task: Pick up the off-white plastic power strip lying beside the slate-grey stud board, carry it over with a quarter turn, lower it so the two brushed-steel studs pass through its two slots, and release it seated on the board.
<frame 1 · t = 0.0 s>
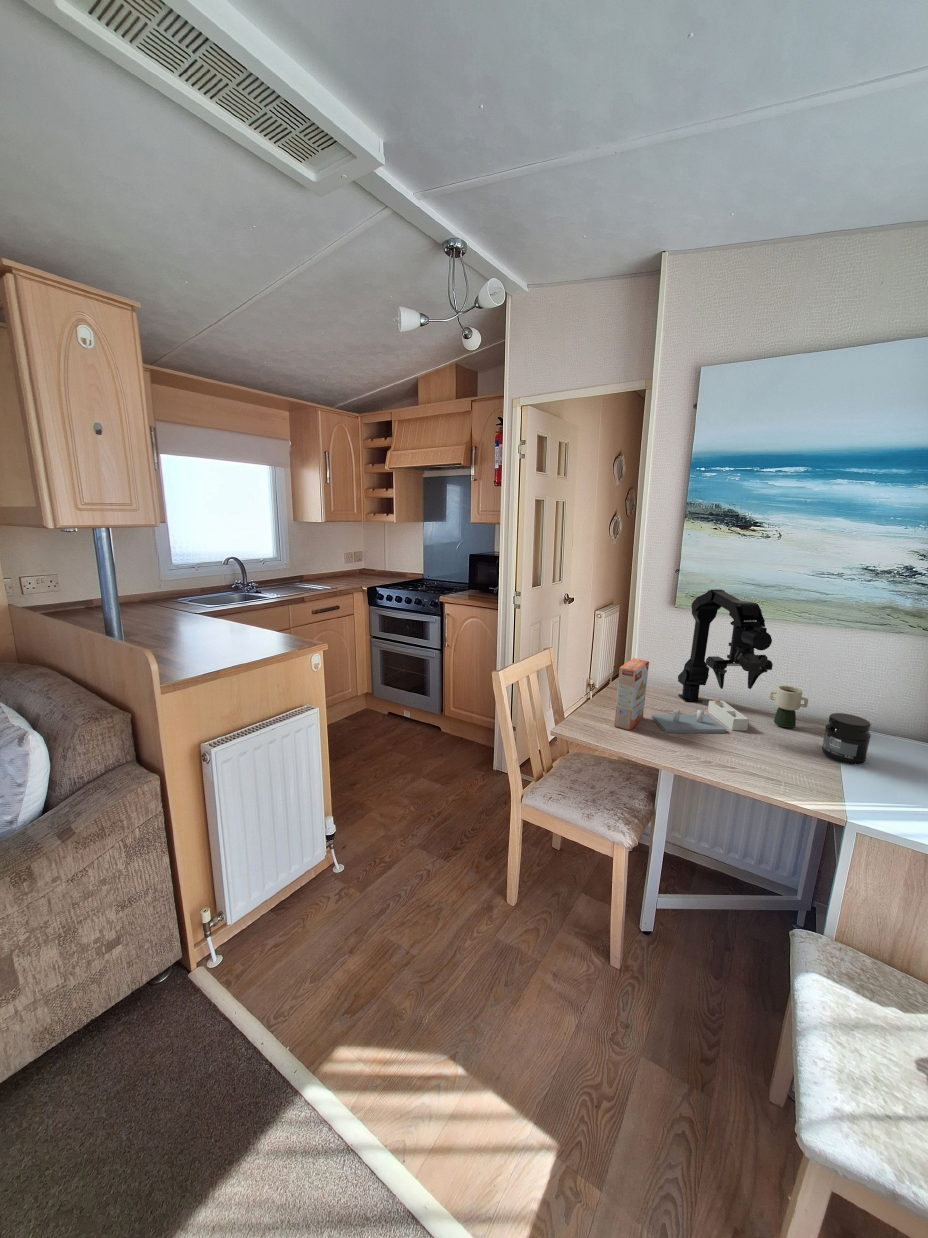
hand: (735, 688, 158), 15 cm above the table, fingers open, 9 cm apart
stud board: (687, 724, 165), on the table
character mug: (784, 726, 166), on the table
supplement container: (842, 757, 144), on the table
cracker box: (629, 722, 167), on the table
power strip: (726, 720, 170), on the table
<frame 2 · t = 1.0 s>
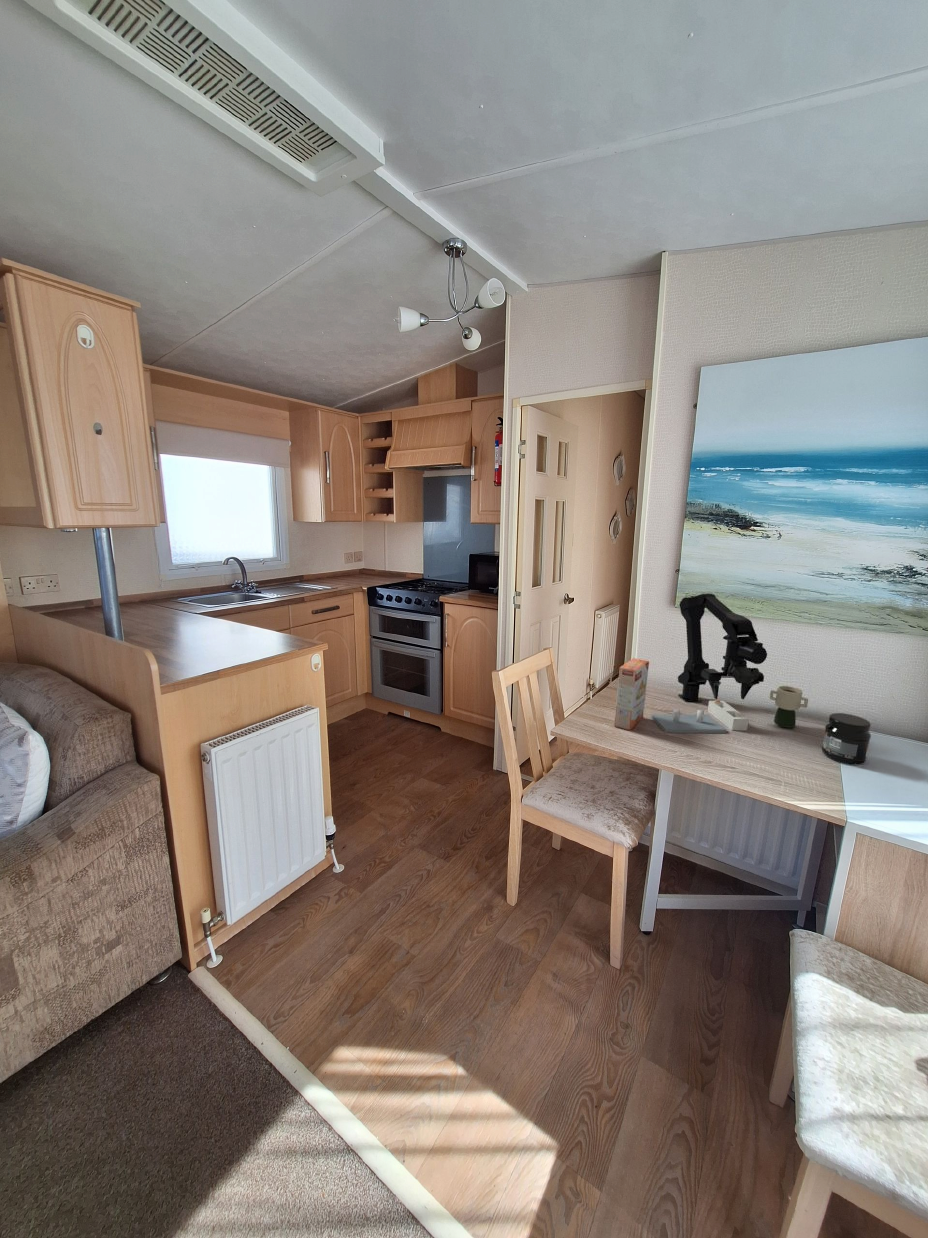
hand: (729, 699, 168), 8 cm above the table, fingers open, 9 cm apart
nothing on the table moved.
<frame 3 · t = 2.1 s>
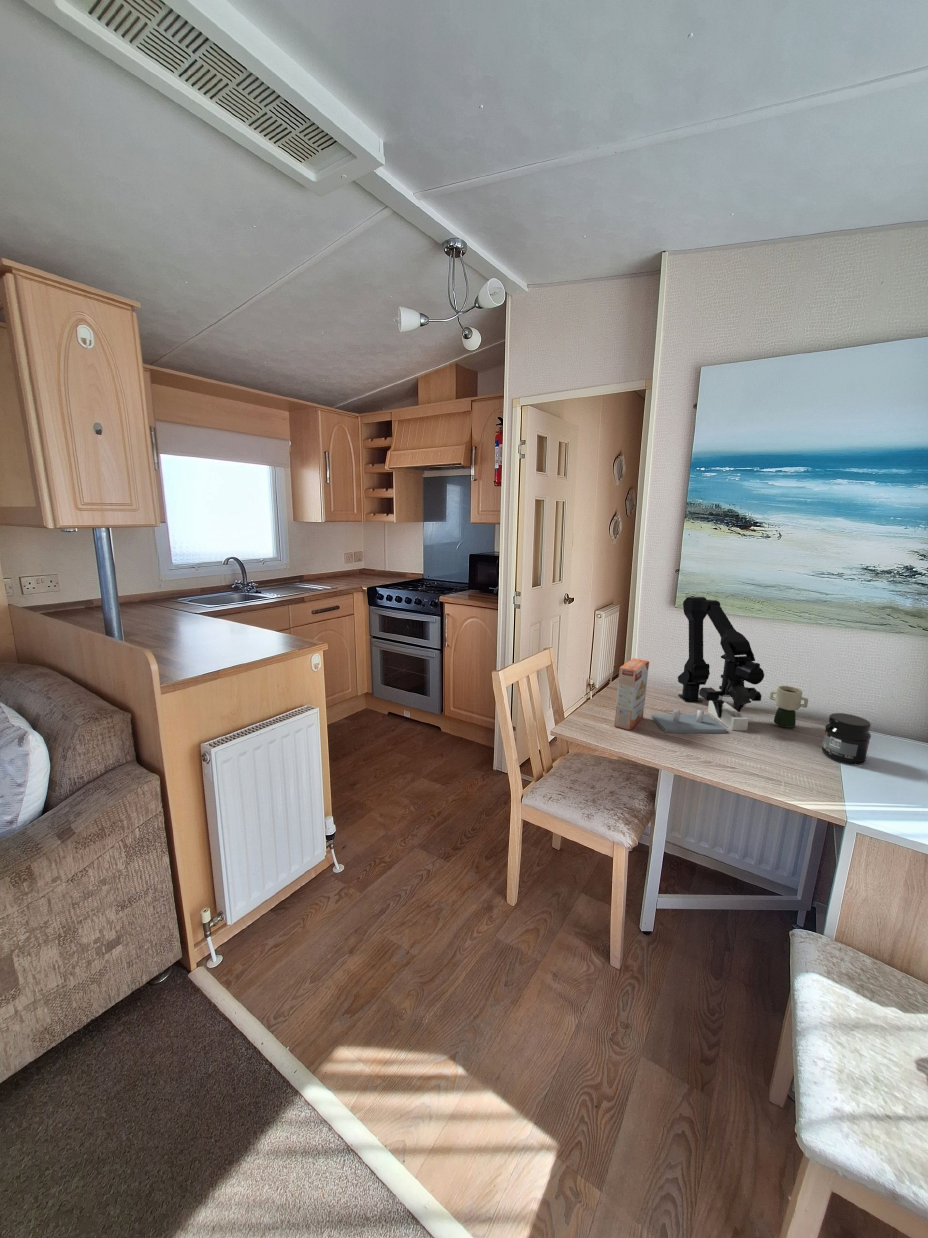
hand: (726, 717, 169), 1 cm above the table, fingers closed on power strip, 5 cm apart
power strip: (726, 720, 170), on the table, touching gripper
everything else where it was.
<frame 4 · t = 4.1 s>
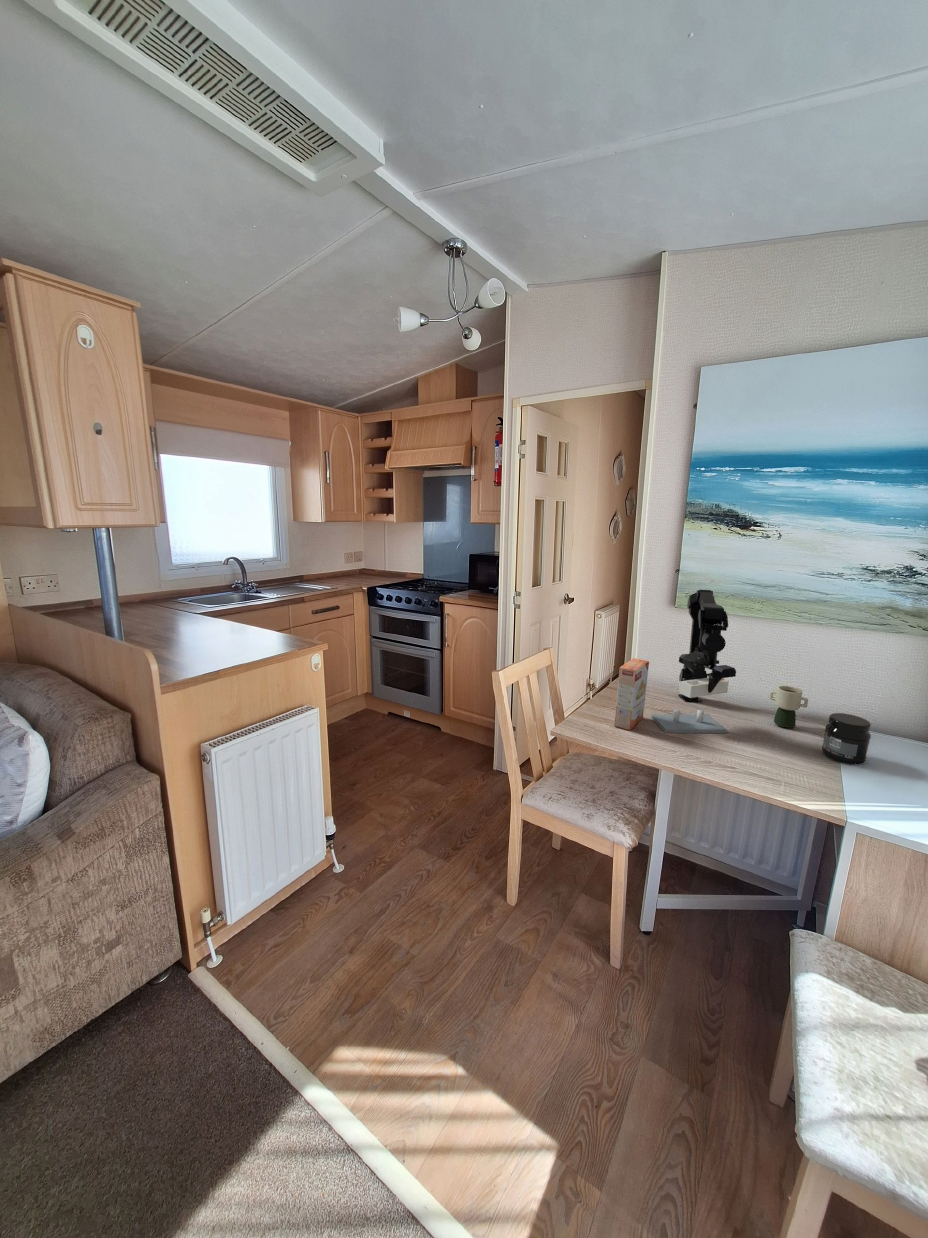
hand: (703, 689, 164), 12 cm above the table, fingers closed on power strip, 5 cm apart
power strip: (702, 692, 164), point 11 cm above the table, touching gripper
everything else where it was.
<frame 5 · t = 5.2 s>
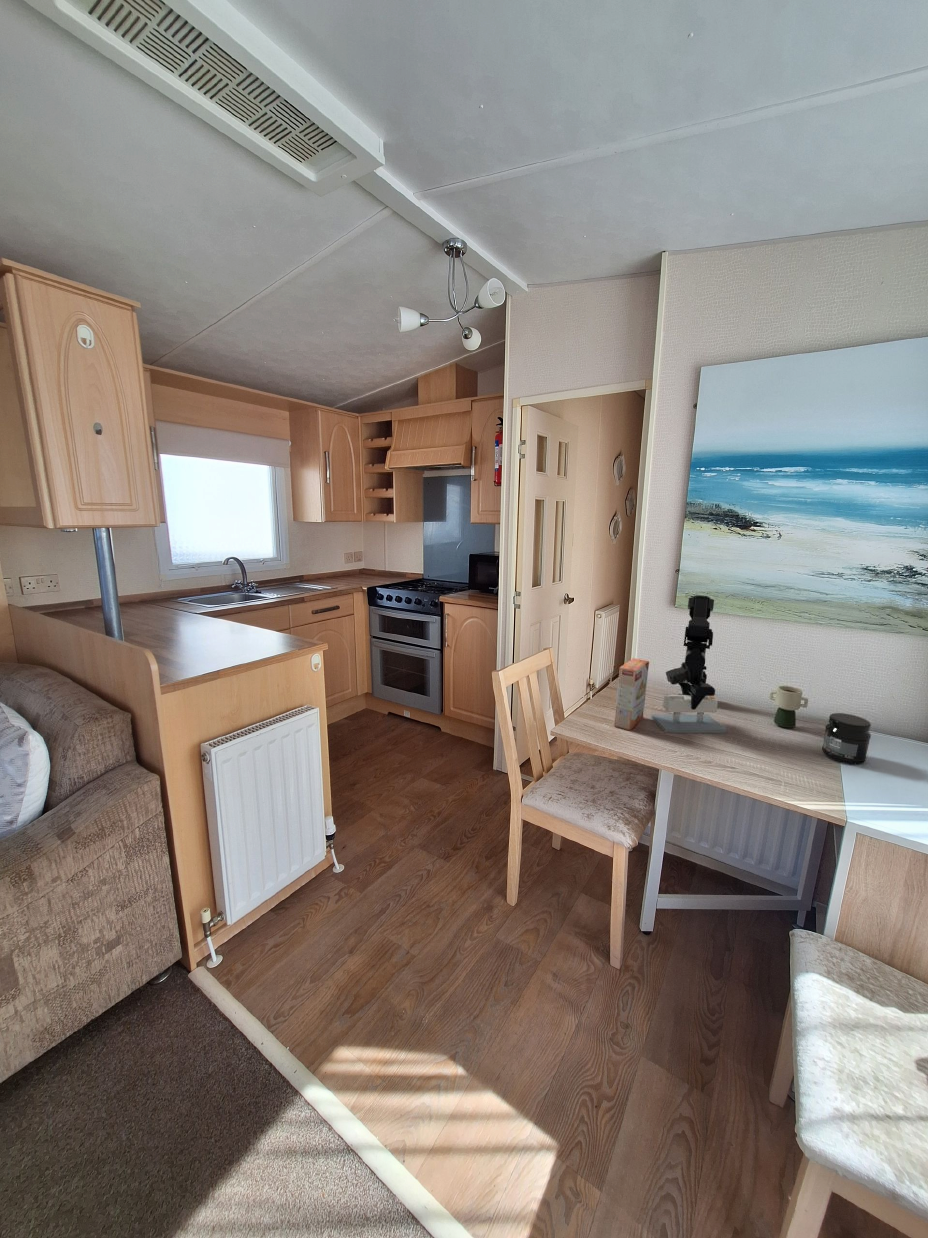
hand: (689, 706, 164), 7 cm above the table, fingers closed on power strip, 5 cm apart
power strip: (689, 709, 164), point 6 cm above the table, touching gripper
everything else where it was.
when the fingers open (4 cm above the table, at t = 6.2 s): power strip drops 1 cm, resting on stud board.
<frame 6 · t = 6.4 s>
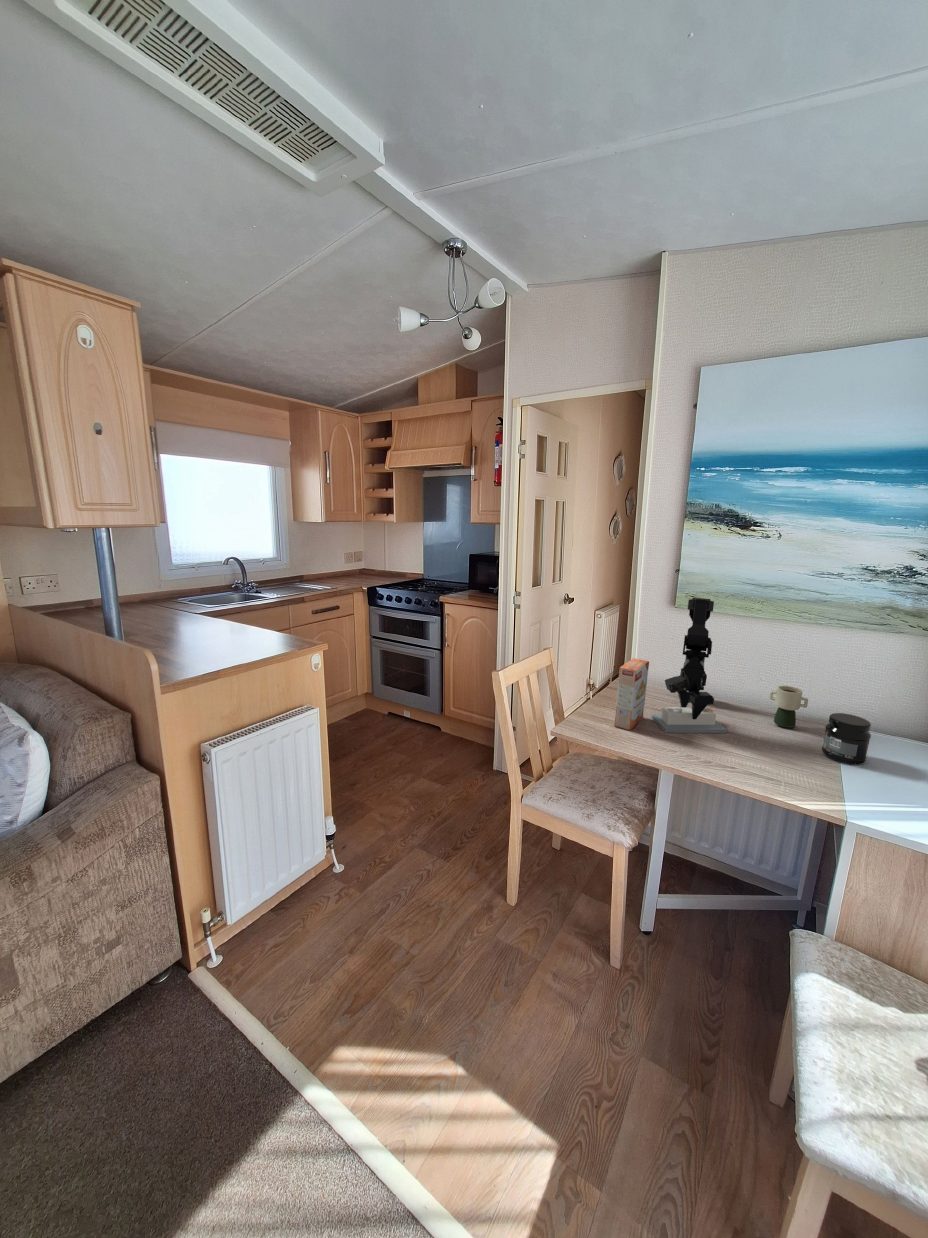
hand: (688, 714, 165), 4 cm above the table, fingers open, 8 cm apart
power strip: (687, 721, 165), point 1 cm above the table, touching stud board
everything else where it was.
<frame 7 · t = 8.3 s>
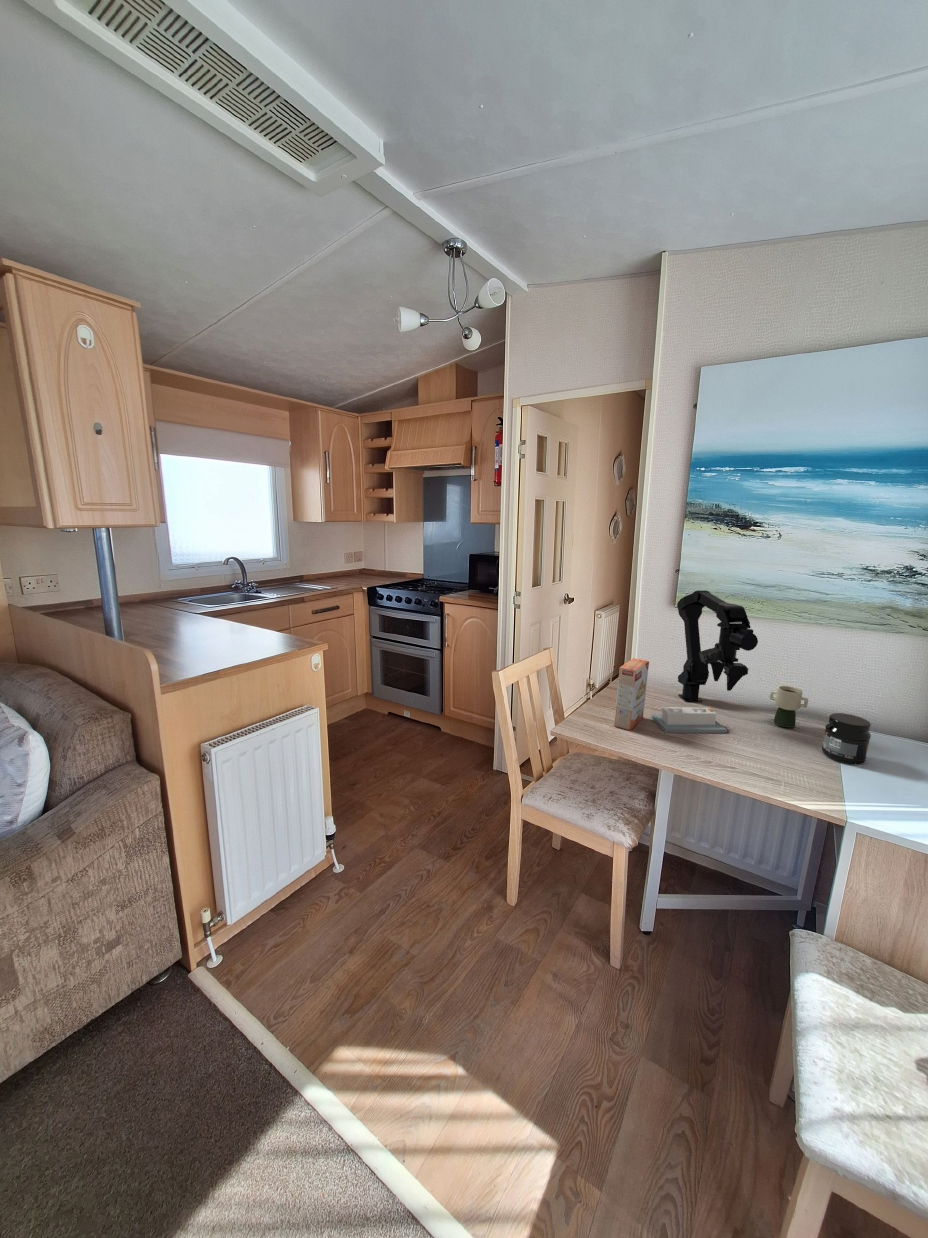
hand: (722, 685, 169), 12 cm above the table, fingers open, 9 cm apart
nothing on the table moved.
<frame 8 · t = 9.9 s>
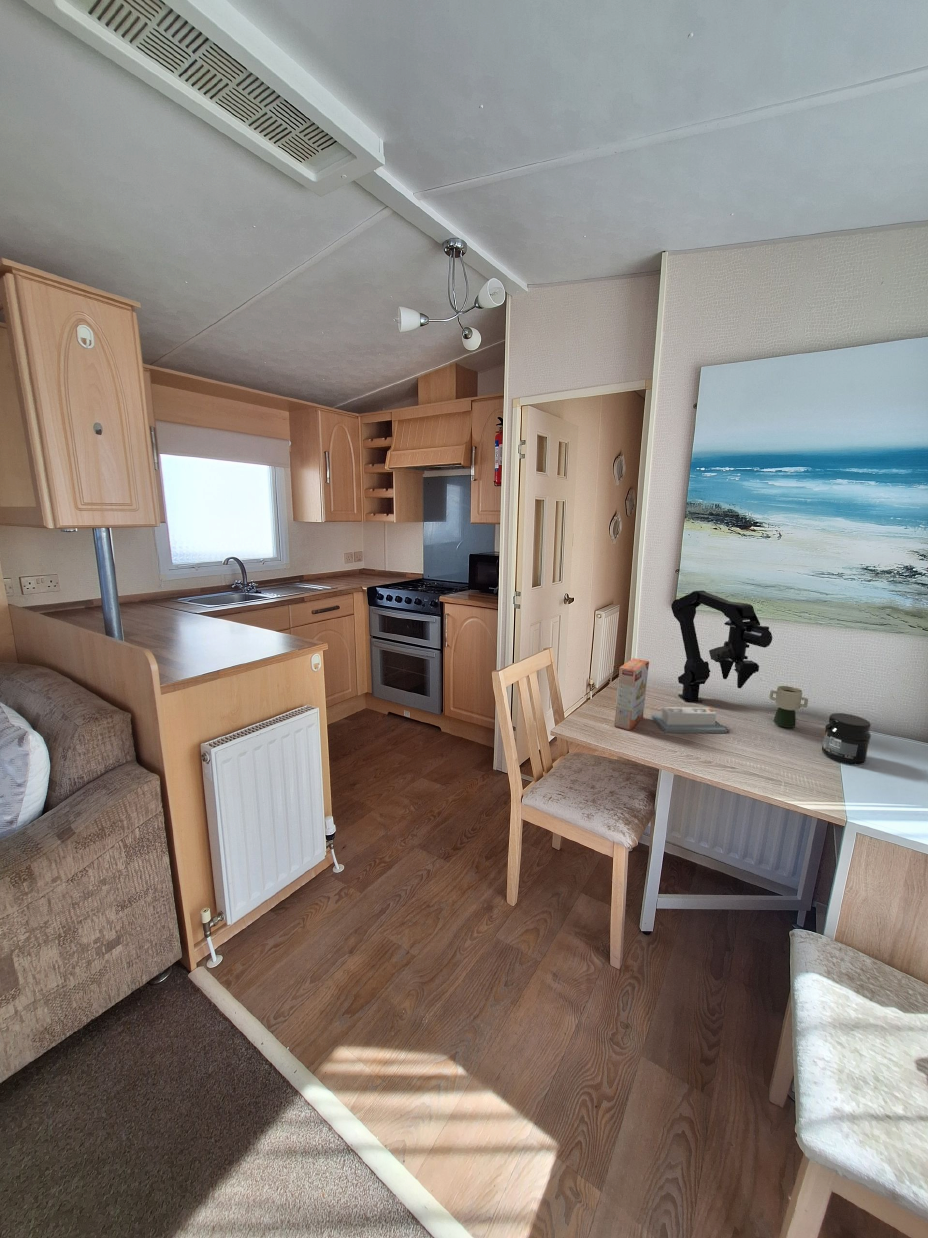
hand: (731, 683, 171), 12 cm above the table, fingers open, 9 cm apart
nothing on the table moved.
at the end: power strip 0.1 cm off-centre on the stud board, point 1.2 cm above the stud board's base; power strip tilted 0°; the gripper is holding nothing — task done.
